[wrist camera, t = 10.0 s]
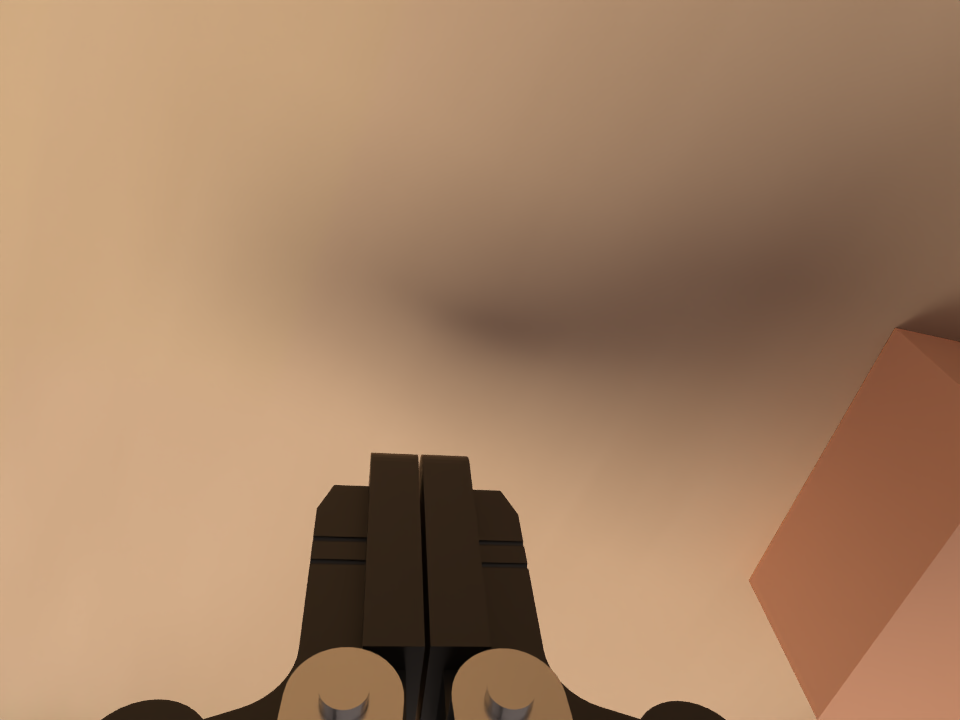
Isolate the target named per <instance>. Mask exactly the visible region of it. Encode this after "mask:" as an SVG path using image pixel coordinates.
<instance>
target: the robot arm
mask: <svg viewBox="0 0 960 720" xmlns="http://www.w3.org/2000/svg"><path fill="white" fill-rule="evenodd" d="M102 720H725V719H724V718H723V717H721V716H720V715H718V714H717V713H715V712H713V711H712V710H710V709H708V708H705V707H703V706H700V705H698V704H694V703H690V702H683V701H669V702H665V703H661V704H659V705H656V706H654V707H652V708H651V709H650V710H648V711H647V712H646V713H645V714H644V716H643V717H642V718H641V719H638V718H635V717H631V716H628V715H625V714H622V713H618V712H615V711H612V710H609V709H605V708H602V707H599V706H597V705H594V704H591V703H589V702H587V701H585V700H583V699H581V698H580V697H578V696H577V695H575V694H574V693H572V692H571V691H570V690H569V689H568V688H566V687H565V686H564V685H563V684H562V683H561V682H560V680H559V679H558V677H557V675H556V674H555V673H554V672H553V671H552V669H551V668H550V666H549V664H548V662H547V660H546V657H545V653H544V650H543V644H542V639H541V634H540V628H539V623H538V618H537V613H536V607H535V602H534V597H533V591H532V586H531V581H530V575H529V570H528V569H527V559H526V554H525V549H524V547H523V538H522V533H521V528H520V522H519V517H518V514H517V513H516V511H515V510H514V508H513V507H512V506H511V504H510V503H509V502H508V500H507V499H506V498H505V496H504V495H503V494H502V492H501V491H489V490H473V488H472V480H471V472H470V464H469V459H468V457H465V456H441V455H421V458H420V465H419V462H418V455H413V454H389V453H371V461H370V476H369V486H345V485H334V486H333V487H332V489H331V490H330V492H329V493H328V494H327V496H326V497H325V498H324V500H323V501H322V502H321V504H320V505H319V506H318V508H317V512H316V520H315V528H314V536H313V544H312V551H311V561H310V567H309V575H308V583H307V590H306V598H305V606H304V614H303V622H302V629H301V637H300V645H299V651H298V656H297V659H296V661H295V664H294V666H293V668H292V670H291V671H290V673H289V674H288V676H287V677H286V678H285V680H284V681H283V682H282V683H281V684H280V685H279V686H278V687H277V688H276V689H275V690H274V691H272V692H271V693H270V694H268V695H267V696H265V697H264V698H262V699H260V700H258V701H256V702H254V703H253V704H250V705H248V706H245V707H242V708H239V709H236V710H233V711H230V712H226V713H223V714H220V715H216V716H213V717H210V718H206V719H202V717H201V716H200V715H199V714H198V713H197V712H196V711H194V710H193V709H191V708H190V707H188V706H186V705H184V704H181V703H179V702H175V701H170V700H146V701H141V702H137V703H133V704H130V705H128V706H125V707H122V708H120V709H118V710H116V711H114V712H113V713H111V714H109V715H108V716H106V717H105V718H103V719H102Z"/></svg>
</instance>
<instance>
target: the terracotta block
mask: <svg viewBox="0 0 960 720" xmlns="http://www.w3.org/2000/svg"><path fill="white" fill-rule="evenodd" d="M749 582H750V584H751V586H752V588H753V590H754V592H755V594H756V596H757V598H758V600H759V602H760V604H761V606H762V608H763V610H764V612H765V614H766V616H767V618H768V620H769V622H770V624H771V626H772V628H773V630H774V632H775V634H776V636H777V638H778V641H779V643H780V645H781V647H782V649H783V651H784V653H785V655H786V657H787V659H788V661H789V663H790V665H791V667H792V669H793V671H794V673H795V675H796V677H797V679H798V681H799V683H800V685H801V687H802V689H803V691H804V693H805V695H806V698H807V700H808V702H809V704H810V706H811V708H812V710H813V712H814V714H815V716H816V718H817V720H960V342H959V341H954V340H949V339H945V338H940V337H935V336H931V335H926V334H922V333H917V332H912V331H908V330H903V329H898V328H895V329H894V330H893V332H892V334H891V336H890V337H889V339H888V341H887V342H886V344H885V346H884V348H883V349H882V351H881V353H880V355H879V356H878V358H877V360H876V361H875V363H874V365H873V367H872V368H871V370H870V372H869V374H868V375H867V377H866V379H865V380H864V382H863V384H862V386H861V387H860V389H859V391H858V393H857V394H856V396H855V398H854V399H853V401H852V403H851V405H850V406H849V408H848V410H847V412H846V413H845V415H844V417H843V418H842V420H841V422H840V424H839V425H838V427H837V429H836V431H835V432H834V434H833V436H832V437H831V439H830V441H829V443H828V444H827V446H826V448H825V450H824V451H823V453H822V455H821V457H820V458H819V460H818V462H817V463H816V465H815V467H814V469H813V470H812V472H811V474H810V476H809V477H808V479H807V481H806V482H805V484H804V486H803V488H802V489H801V491H800V493H799V495H798V496H797V498H796V500H795V501H794V503H793V505H792V507H791V508H790V510H789V512H788V514H787V515H786V517H785V519H784V520H783V522H782V524H781V526H780V527H779V529H778V531H777V533H776V534H775V536H774V538H773V539H772V541H771V543H770V545H769V546H768V548H767V550H766V552H765V553H764V555H763V557H762V558H761V560H760V562H759V564H758V565H757V567H756V569H755V571H754V572H753V574H752V576H751V577H750V579H749Z"/></svg>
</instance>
